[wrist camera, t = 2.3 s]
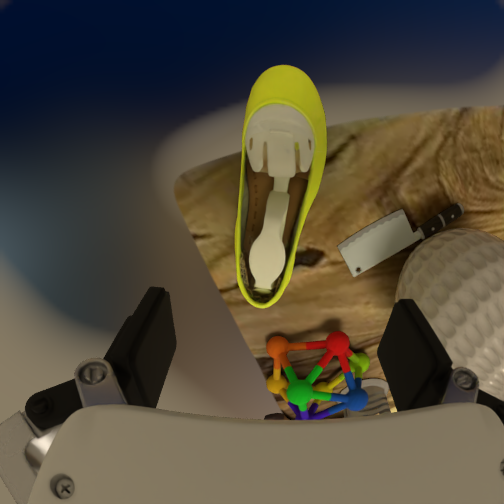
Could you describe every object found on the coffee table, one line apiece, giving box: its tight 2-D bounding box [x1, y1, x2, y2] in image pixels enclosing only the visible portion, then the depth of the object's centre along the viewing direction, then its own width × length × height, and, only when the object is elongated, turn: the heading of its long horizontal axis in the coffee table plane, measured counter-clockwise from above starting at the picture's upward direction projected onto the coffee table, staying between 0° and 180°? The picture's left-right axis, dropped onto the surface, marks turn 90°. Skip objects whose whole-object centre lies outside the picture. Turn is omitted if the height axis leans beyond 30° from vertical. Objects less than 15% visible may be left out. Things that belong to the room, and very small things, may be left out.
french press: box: [337, 379, 391, 418], centre depth 32 cm, size 10×12×25 cm
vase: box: [395, 228, 504, 401], centre depth 22 cm, size 16×16×22 cm
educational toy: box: [266, 331, 370, 420], centre depth 35 cm, size 16×13×15 cm
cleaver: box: [337, 203, 464, 277], centre depth 30 cm, size 17×1×5 cm
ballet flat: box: [235, 65, 327, 308], centre depth 25 cm, size 8×24×8 cm, turn 174°
